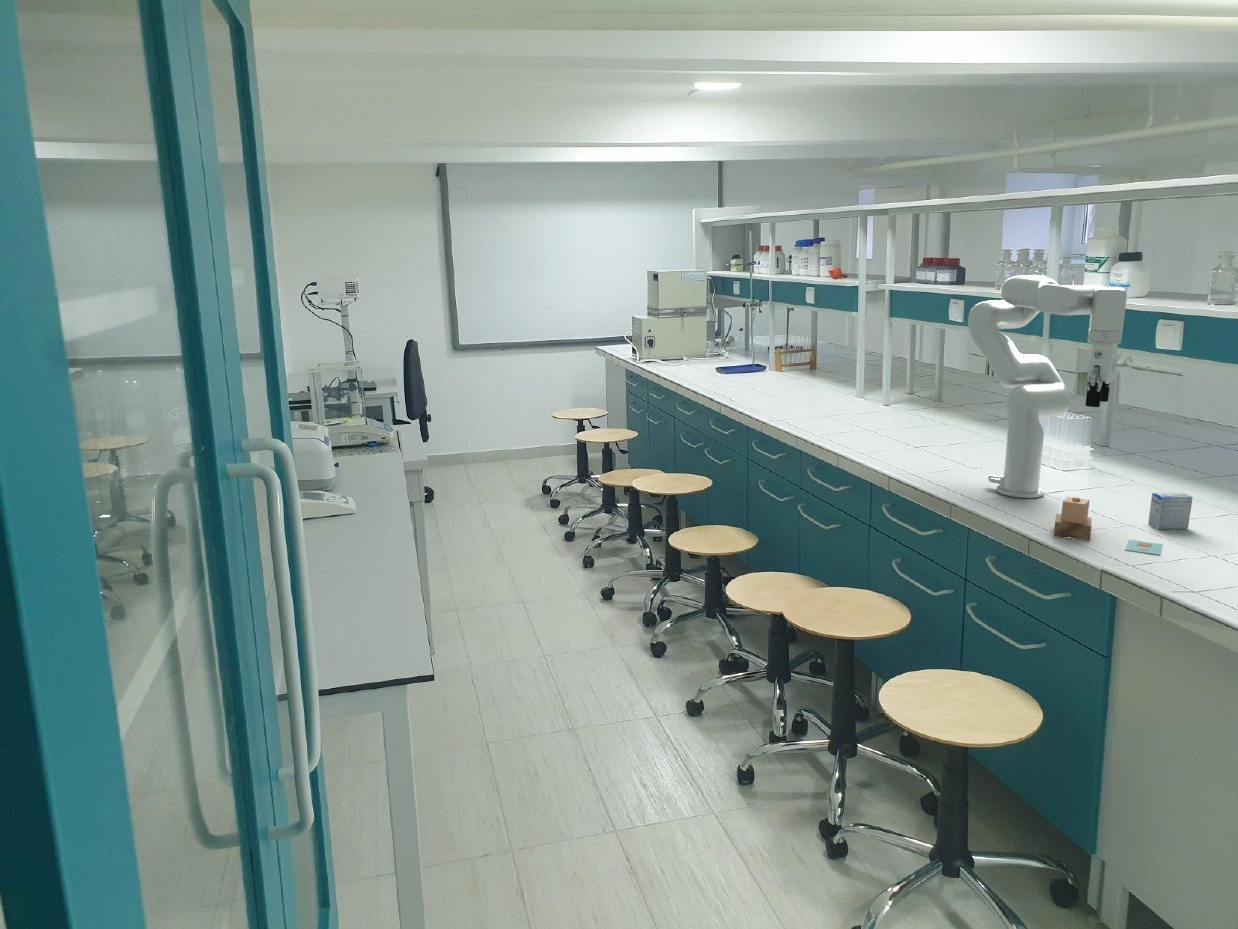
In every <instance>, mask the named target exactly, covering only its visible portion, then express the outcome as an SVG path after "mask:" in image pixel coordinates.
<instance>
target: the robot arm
mask: <svg viewBox="0 0 1238 929" xmlns="http://www.w3.org/2000/svg"><path fill="white" fill-rule="evenodd" d="M1127 295H1128V292H1127V290H1126V289H1125V288H1123V287H1111V286H1108V287H1106V286H1103V285H1098V284H1096V285H1095V284H1094V285H1093V284H1089V285H1087V284H1086V285H1085V284H1084V285H1082V284H1081V285H1080V284H1079V285H1059V283H1057V281H1055V280H1054V279H1052V278H1049V277H1047V276H1046V275H1040V274H1039V275H1036V274H1035V275H1016V276H1014V275H1013V276H1011V277H1009V278H1007V279H1005V281H1004V282H1003V283H1002V285H1001V287H1000V296H1001V298H1002V299H1000V300H997V299H995V300H986V301H981V302H979V303H977V304H974V306H973V307H971V309H970V311H969V314H968V318H967V327H968V331H969V332H968V333H969V335H970V337H971V339H972V341H973V342H974V344H975V345H976V347H977V348H978V349H979V350H980V351H981V353H982V354H983V356H984V357H985V359H986V361H987V363H988V365H989V366H990V368H991V370H992V372H993V373H994V375H995V377H996V379H997V381H998V382H999V383H1000V385H1001V386H1003V387H1004V388H1007V389H1011V390H1009V392H1008V394H1007V396H1006V411H1007V435H1006V448H1005V458H1004V468H1003V469H1004V470H1003V475H1002V474H1001V475H1000V476H999V475H996V474H989V475H988V477H987V478H988V482H990V483H993V484H998V485H997V487H996V491H997V493H998V494H1001V495H1003V496H1006V497H1012V498H1019V499H1020V498H1021V499H1035V498H1041V497H1043V496H1044V495H1045V490H1044V489H1042V488H1041V487H1039V486H1040V479H1041V478H1040V477H1041V468H1042V457H1043V448H1044V440H1045V439H1044V434H1045V433H1044V429H1043V426H1042V425H1041V424H1042V423H1041V422H1040V420H1039V418H1049V417H1059V416H1062V415H1064V414H1066V413H1067V412H1068V410H1069V409H1070V407H1071V402H1072V399H1071V394H1070V391H1069V389H1068V386H1066V384H1065V382H1064V379H1062V377H1061V376H1060V374H1059V372H1058V371H1057V368H1056V367H1055V366H1054V364H1053V362H1051V360H1049V359H1048V358H1047V357H1046V356H1044V355H1041V354H1023V353H1021V352H1019V350H1018V349H1017V347H1016V346H1015V344H1014V342H1013V341H1012V339H1010V338H1009V337H1008V336H1007V335H1006V334H1004V333H1003V332H1001V330H1010V329H1011V330H1013V329H1014V330H1015V329H1021V328H1023V327H1025V326H1027V325H1028V324H1029V323H1030V322H1031V321H1032V320H1034V319H1035V317H1037V315H1038V314H1039V313H1045V314H1049V315H1050V314H1052V315H1055V316H1056V315H1057V316H1081V315H1082V316H1087V315H1088V316H1090V318H1089V327H1088V328H1089V329H1088V335H1087V343H1089V344H1091V349H1090V351H1089V352H1090V353H1089V360H1088V365H1087V366H1088V367H1087V375H1086V376H1087V378H1086V379H1087V381H1088V386H1087V391H1086V397H1085V406H1086V407H1090V408H1091V407H1092V408H1099V407H1100V406H1101V402H1103V403H1107V402H1109V396H1110V385H1111V382H1113V381H1115V378H1116V374H1117V373H1116V372H1117V363H1118V362H1117V361H1118V345H1122V344H1121V343H1122V339H1123V329H1124V323H1125V315H1126V314H1125V313H1126V306H1127V305H1126V304H1127V299H1128V296H1127Z"/></svg>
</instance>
